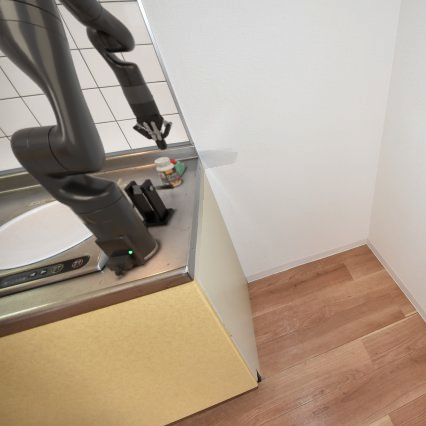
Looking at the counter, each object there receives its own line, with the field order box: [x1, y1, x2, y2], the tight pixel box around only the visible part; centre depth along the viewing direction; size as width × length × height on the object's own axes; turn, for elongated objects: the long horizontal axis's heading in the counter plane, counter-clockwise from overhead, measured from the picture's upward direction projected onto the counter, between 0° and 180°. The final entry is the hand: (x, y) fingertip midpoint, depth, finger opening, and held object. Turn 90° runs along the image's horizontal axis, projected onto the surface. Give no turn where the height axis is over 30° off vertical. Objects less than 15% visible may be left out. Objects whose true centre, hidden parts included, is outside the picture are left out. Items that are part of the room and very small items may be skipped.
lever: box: [132, 184, 175, 195], centre depth 73 cm, size 15×5×2 cm, turn 8°
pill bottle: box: [154, 156, 182, 188], centre depth 86 cm, size 6×6×10 cm
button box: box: [174, 159, 186, 177], centre depth 95 cm, size 7×6×4 cm
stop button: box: [169, 158, 176, 165], centre depth 93 cm, size 3×3×2 cm
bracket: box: [123, 178, 175, 228], centre depth 69 cm, size 7×7×13 cm
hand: (164, 149), depth 90 cm, fingers closed
